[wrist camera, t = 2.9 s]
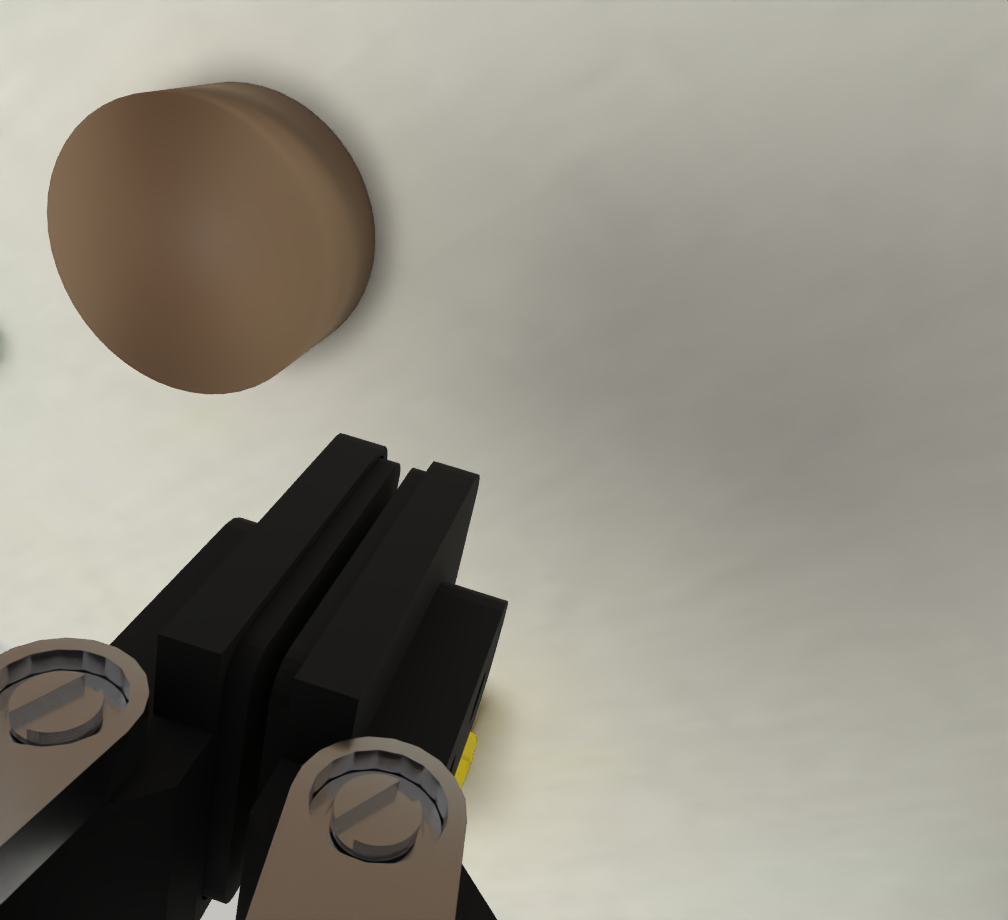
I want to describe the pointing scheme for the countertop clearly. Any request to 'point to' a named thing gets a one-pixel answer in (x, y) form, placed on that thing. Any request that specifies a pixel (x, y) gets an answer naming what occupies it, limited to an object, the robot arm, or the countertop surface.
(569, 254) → the countertop surface
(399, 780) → the robot arm
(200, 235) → the puck
